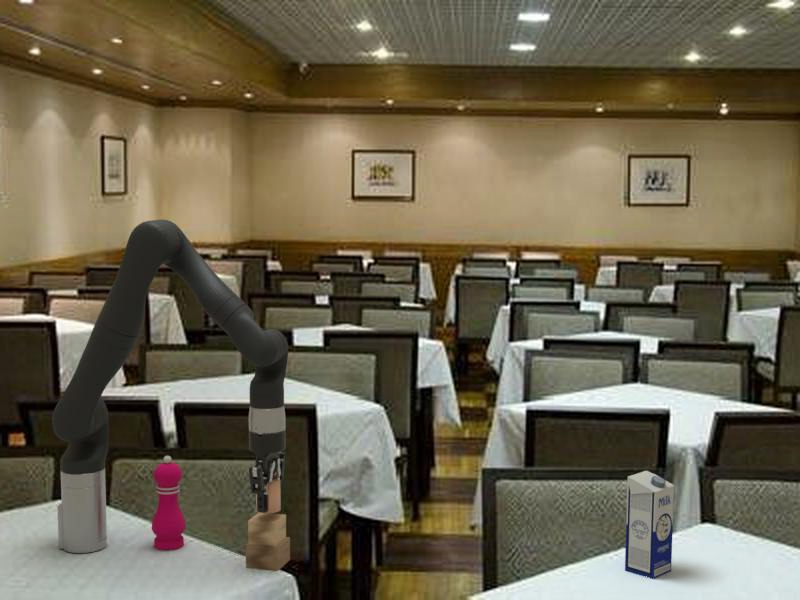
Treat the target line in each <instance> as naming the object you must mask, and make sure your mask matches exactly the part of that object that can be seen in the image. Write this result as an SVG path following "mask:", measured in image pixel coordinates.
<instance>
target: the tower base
mask: <svg viewBox="0 0 800 600" xmlns="http://www.w3.org/2000/svg"><path fill="white" fill-rule="evenodd" d="M290 560H291V537H290V536H286V538H285V539H284V540H283V541H282V542H281V543H280V544H279V545H278V546H276V547H270V546H259V545H249V544H248V542H247V543H246V544H245V568H246V569H253V570H254V569H256V570H264V571H271V572H272V571H274V572H279V571H280V570H281V569H282V568H283V567H284V566H285V565H286V564H287V563H288V562H290Z"/></svg>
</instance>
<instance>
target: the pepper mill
mask: <svg viewBox="0 0 800 600" xmlns="http://www.w3.org/2000/svg"><path fill="white" fill-rule="evenodd" d="M162 459H163V462H162V463H160V464H158V465H157V466H156V467H155V469H153V470H154V471H153V479H154V481H155V483H156V484H157V485H156V486H155V488H156V489H155V490H156V491H155V492H156V493H157V495H158V503H157V508H156V511H155V514H154V516H153V518H152V522H151V530H152V531H151V532H153V534H154V535H155V537H154V539H153V540H154V542H153V543H154V545H153V546H154V548H155V549H157V550H159V549H161V551H170V550H169V549H174V550H178V549H180V547H181V548H183V546H184V543H185V542H184V539H185V538H184V535H182V534H183V533H184V531H185V530H186V520H185V516H184V513H183V512H182V510H181V508H180V505H179V500H178V499H179V498H178V497H179V496H178V495H179V492H180V491H181V490H180V483H179V482H180V481H181V480H182V478H183V472H182V468H181V467H180V466H179V464H177V463H175V462H172V460H173V459H172V457H171V456H170V455H165V456H164V457H163V458H162ZM177 548H178V549H177Z"/></svg>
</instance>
